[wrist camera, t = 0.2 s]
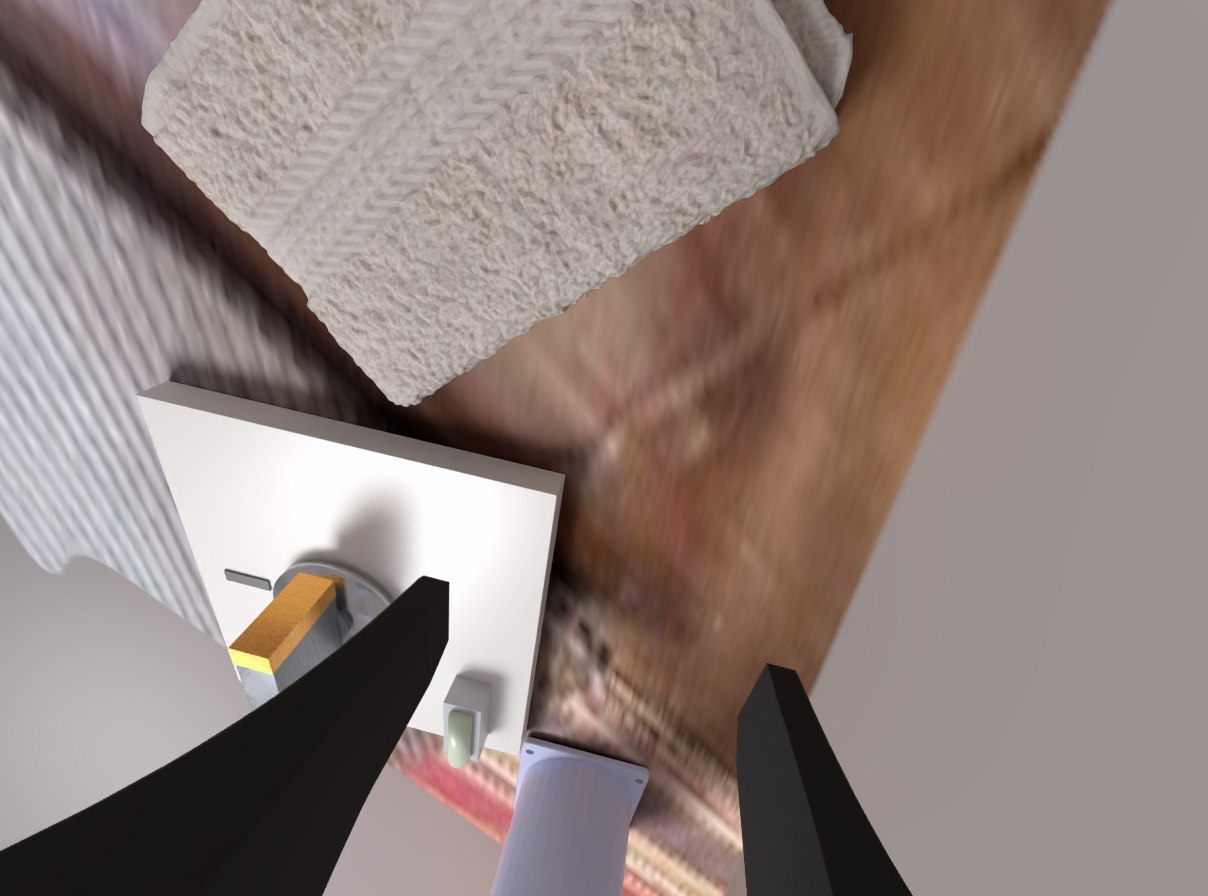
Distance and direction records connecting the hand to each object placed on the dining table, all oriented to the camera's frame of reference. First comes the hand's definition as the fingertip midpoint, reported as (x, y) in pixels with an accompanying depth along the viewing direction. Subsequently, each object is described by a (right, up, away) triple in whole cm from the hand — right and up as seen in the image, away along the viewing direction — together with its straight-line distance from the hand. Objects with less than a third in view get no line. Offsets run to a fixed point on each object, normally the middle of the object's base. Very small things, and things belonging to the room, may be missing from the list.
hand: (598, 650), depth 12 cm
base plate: (-12, -3, +16) cm, 20 cm away
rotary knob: (-13, -3, +15) cm, 20 cm away
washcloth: (-3, +15, +4) cm, 16 cm away
